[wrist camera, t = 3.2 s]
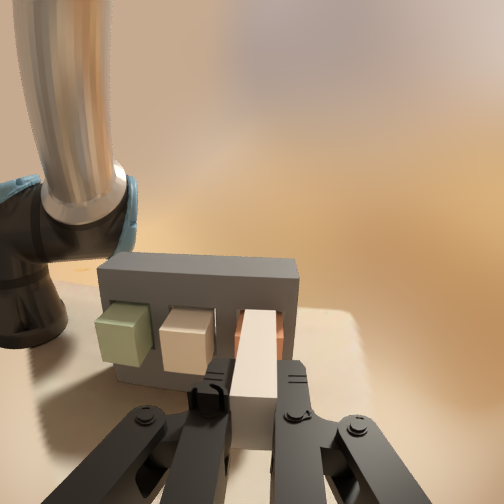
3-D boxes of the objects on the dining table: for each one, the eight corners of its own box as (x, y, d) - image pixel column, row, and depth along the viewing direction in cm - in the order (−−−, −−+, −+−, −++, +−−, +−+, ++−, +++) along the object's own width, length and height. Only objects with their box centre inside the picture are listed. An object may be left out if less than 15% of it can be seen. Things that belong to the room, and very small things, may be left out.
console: (117, 381, 33) (96, 268, 30) (134, 354, 39) (121, 251, 35) (287, 398, 32) (299, 278, 29) (286, 367, 38) (294, 258, 34)
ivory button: (164, 370, 28) (159, 329, 26) (177, 343, 32) (174, 305, 31) (206, 375, 27) (204, 334, 26) (215, 346, 32) (214, 308, 31)
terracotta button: (234, 377, 27) (234, 336, 26) (239, 348, 32) (240, 309, 31) (280, 379, 27) (283, 338, 26) (279, 350, 32) (282, 311, 31)
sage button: (102, 361, 28) (94, 321, 27) (121, 336, 33) (116, 300, 31) (139, 367, 28) (132, 326, 26) (155, 340, 32) (151, 303, 31)
